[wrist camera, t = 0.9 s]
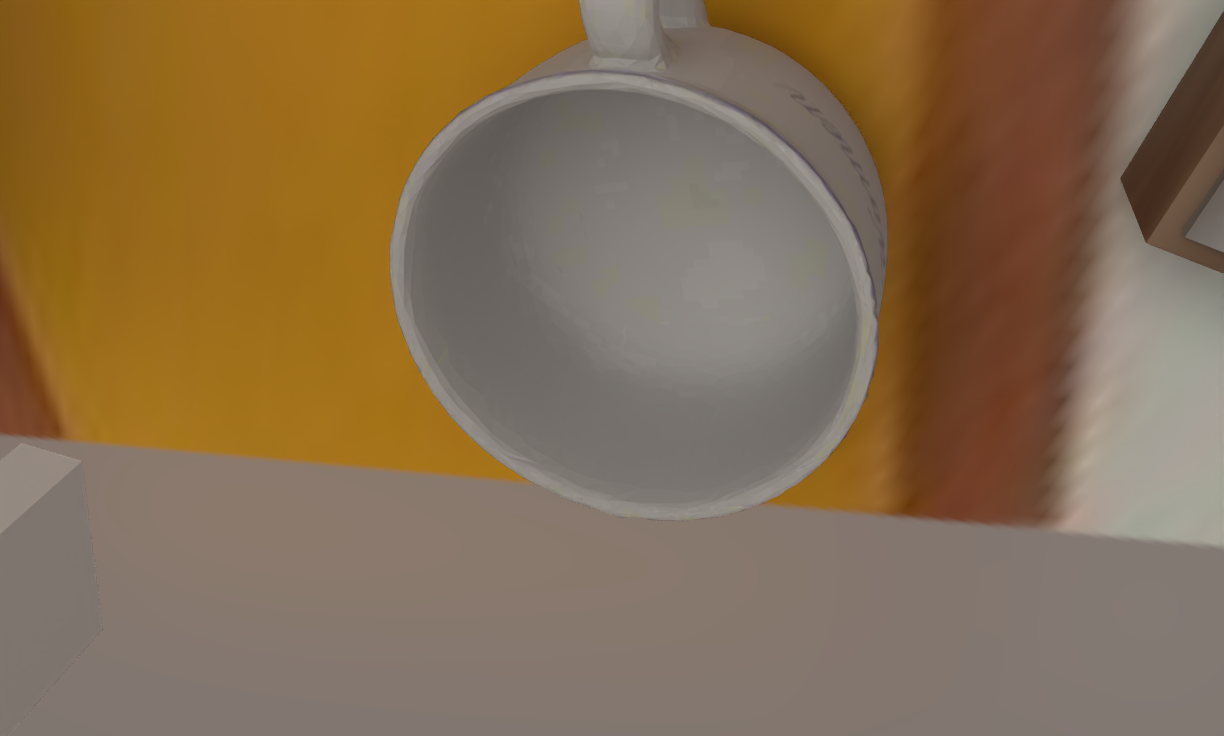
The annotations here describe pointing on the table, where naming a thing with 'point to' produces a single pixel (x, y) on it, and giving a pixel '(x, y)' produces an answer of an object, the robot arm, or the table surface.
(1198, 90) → the walnut riser
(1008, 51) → the table surface
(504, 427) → the teacup
